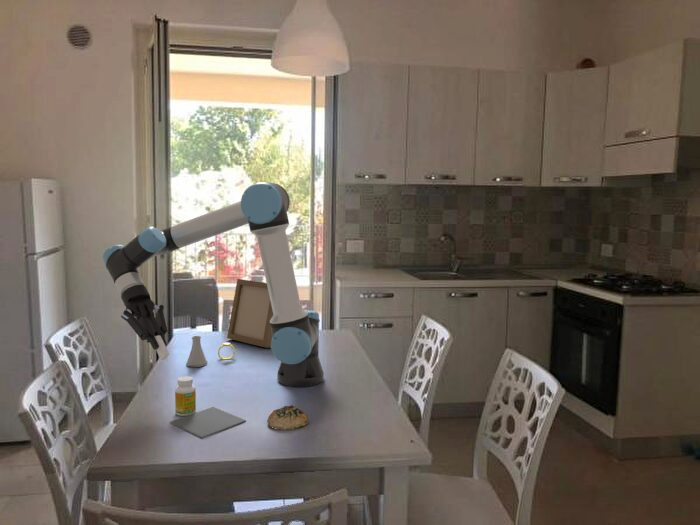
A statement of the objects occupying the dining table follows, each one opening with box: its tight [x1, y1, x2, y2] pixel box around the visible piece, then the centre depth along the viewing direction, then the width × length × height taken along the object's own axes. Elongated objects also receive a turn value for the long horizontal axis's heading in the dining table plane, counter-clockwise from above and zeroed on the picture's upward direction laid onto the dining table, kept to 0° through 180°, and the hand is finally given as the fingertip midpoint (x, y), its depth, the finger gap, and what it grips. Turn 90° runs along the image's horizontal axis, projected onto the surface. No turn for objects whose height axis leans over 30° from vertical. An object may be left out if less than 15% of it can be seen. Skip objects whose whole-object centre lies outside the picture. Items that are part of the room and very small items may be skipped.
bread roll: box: [266, 404, 309, 430], centre depth 151 cm, size 11×11×5 cm
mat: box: [169, 406, 247, 439], centre depth 150 cm, size 14×14×1 cm
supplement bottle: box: [174, 376, 197, 417], centre depth 156 cm, size 5×5×10 cm
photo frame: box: [226, 278, 273, 349], centre depth 230 cm, size 15×22×25 cm
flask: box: [185, 335, 208, 368], centre depth 199 cm, size 7×7×10 cm
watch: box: [217, 342, 236, 361], centre depth 206 cm, size 6×3×6 cm, turn 103°
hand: (165, 357), depth 160 cm, fingers closed
